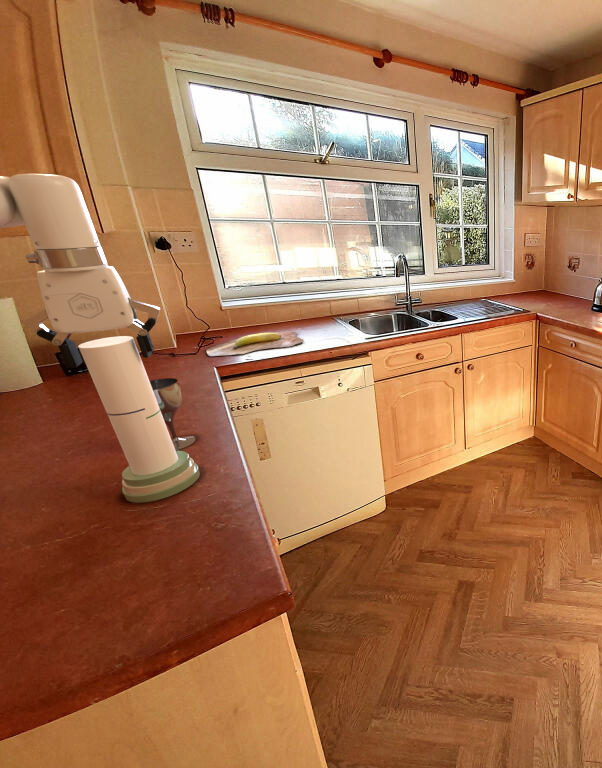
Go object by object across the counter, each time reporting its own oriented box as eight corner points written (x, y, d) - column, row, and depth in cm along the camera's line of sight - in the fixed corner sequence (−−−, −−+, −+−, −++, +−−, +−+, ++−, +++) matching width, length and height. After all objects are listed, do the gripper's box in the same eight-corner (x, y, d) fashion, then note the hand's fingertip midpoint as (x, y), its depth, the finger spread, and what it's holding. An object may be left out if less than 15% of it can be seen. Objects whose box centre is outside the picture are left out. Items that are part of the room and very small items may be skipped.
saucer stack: (108, 499, 80) (98, 479, 78) (166, 464, 91) (159, 446, 89) (160, 505, 78) (152, 485, 76) (214, 469, 89) (208, 451, 87)
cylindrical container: (126, 467, 82) (73, 343, 72) (170, 451, 87) (125, 334, 78) (139, 479, 78) (84, 350, 68) (184, 461, 83) (139, 339, 74)
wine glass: (185, 432, 104) (165, 376, 98) (205, 439, 101) (185, 381, 95) (148, 447, 98) (125, 388, 92) (168, 455, 94) (144, 394, 89)
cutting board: (295, 330, 195) (294, 322, 193) (309, 343, 174) (307, 334, 173) (205, 344, 176) (202, 336, 174) (208, 361, 155) (205, 351, 154)
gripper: (-15, 266, 61) (37, 376, 67) (136, 258, 69) (170, 358, 75) (10, 261, 67) (55, 363, 74) (146, 255, 75) (177, 347, 81)
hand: (113, 360), depth 74 cm, fingers open, 9 cm apart
